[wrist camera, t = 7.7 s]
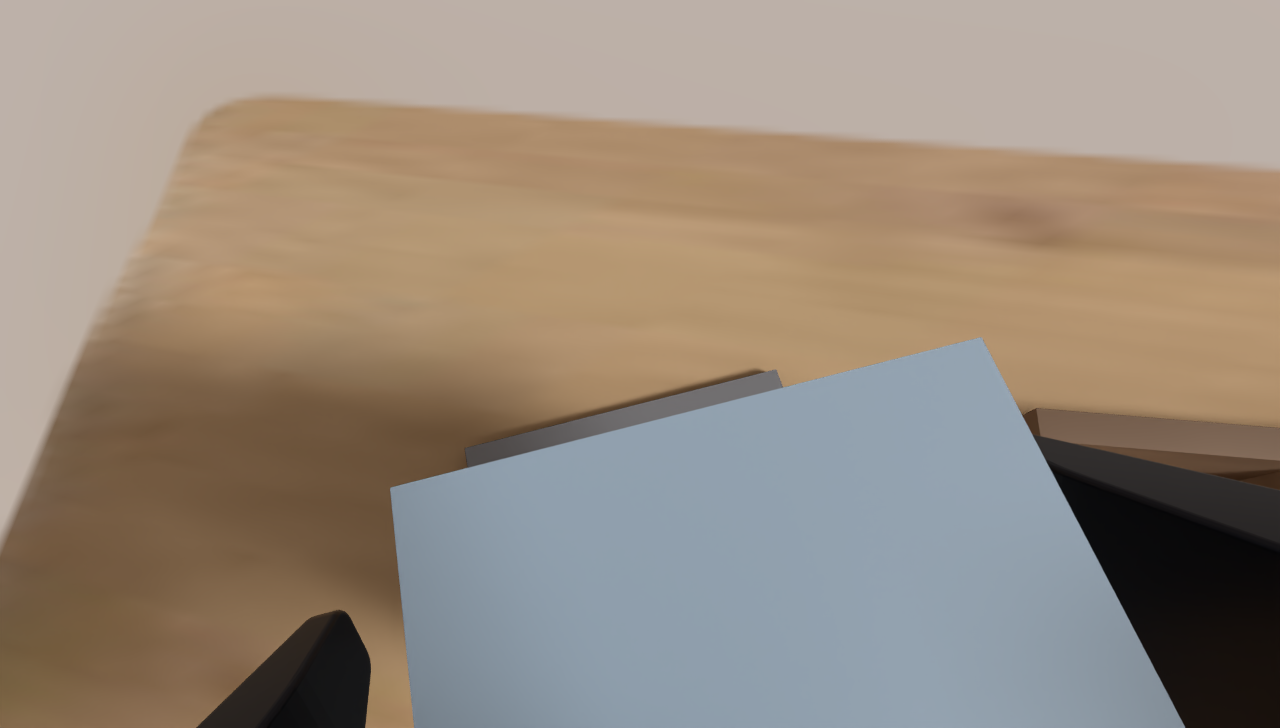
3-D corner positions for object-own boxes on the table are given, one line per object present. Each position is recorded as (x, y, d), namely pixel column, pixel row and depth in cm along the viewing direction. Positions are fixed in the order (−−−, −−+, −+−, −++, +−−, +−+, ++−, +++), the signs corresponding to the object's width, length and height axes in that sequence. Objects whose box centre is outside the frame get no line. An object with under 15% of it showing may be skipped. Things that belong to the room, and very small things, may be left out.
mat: (955, 867, 13) (964, 874, 13) (553, 999, 13) (550, 1010, 12) (773, 374, 18) (776, 369, 17) (468, 451, 17) (464, 448, 17)
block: (786, 690, 14) (1328, 1000, 3) (620, 739, 14) (474, 1313, 3) (739, 541, 16) (981, 337, 4) (587, 583, 15) (390, 488, 4)
